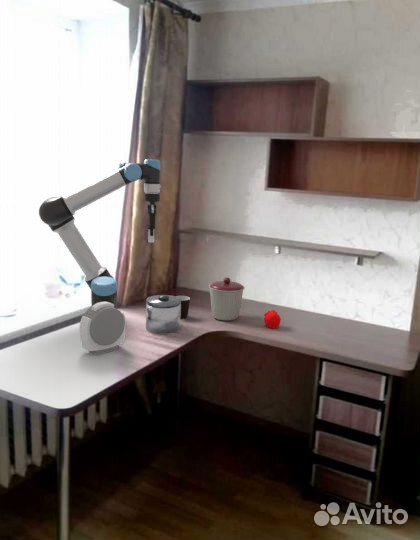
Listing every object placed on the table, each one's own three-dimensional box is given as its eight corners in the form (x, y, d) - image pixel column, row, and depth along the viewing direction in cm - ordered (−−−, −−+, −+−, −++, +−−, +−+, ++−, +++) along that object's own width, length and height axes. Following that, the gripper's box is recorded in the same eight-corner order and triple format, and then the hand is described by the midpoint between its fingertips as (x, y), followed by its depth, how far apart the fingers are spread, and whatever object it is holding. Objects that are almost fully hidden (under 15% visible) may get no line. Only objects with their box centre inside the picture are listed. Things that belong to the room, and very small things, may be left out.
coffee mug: (189, 320, 251) (189, 300, 248) (171, 319, 251) (172, 300, 249) (190, 313, 262) (191, 294, 260) (173, 312, 262) (174, 294, 260)
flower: (263, 319, 240) (261, 313, 247) (268, 333, 241) (266, 327, 249) (278, 313, 239) (276, 307, 247) (284, 327, 241) (281, 321, 249)
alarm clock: (116, 342, 216) (116, 297, 212) (127, 348, 210) (127, 301, 206) (78, 352, 204) (77, 304, 200) (89, 358, 198) (88, 309, 194)
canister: (208, 311, 266) (209, 272, 261) (242, 313, 265) (244, 274, 261) (206, 322, 248) (208, 280, 244) (243, 324, 248) (245, 282, 243)
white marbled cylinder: (147, 334, 228) (147, 308, 225) (144, 322, 245) (145, 298, 242) (182, 333, 231) (182, 308, 228) (177, 321, 248) (178, 297, 245)
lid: (147, 307, 225) (147, 301, 225) (145, 298, 241) (145, 291, 240) (182, 307, 228) (183, 300, 228) (178, 297, 244) (178, 291, 243)
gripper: (161, 194, 232) (160, 244, 237) (158, 192, 244) (157, 240, 249) (144, 193, 231) (144, 244, 235) (143, 191, 243) (142, 240, 248)
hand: (151, 242), depth 242 cm, fingers closed
